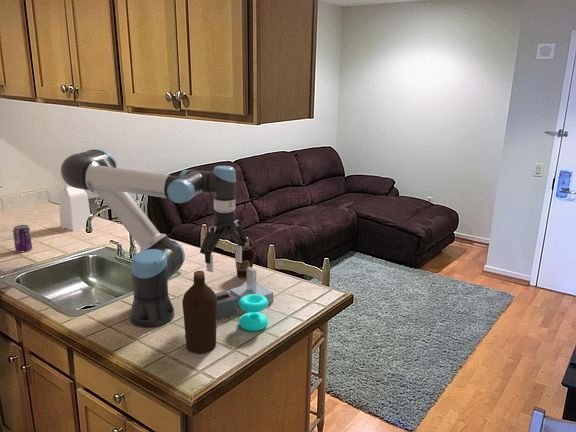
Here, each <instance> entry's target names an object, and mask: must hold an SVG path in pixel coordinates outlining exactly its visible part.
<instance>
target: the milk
mask: <svg viewBox="0 0 576 432" xmlns="http://www.w3.org/2000/svg"><path fill="white" fill-rule="evenodd" d="M58 203H59V205H58V206H59V220H60V221H59V222H60V224H59V225H60V228H61V227H64V228H67V229H70V230H73V231H72V232H75V231H74V230H77V229H80V230H82V229H81V228H84V229H86V228H85V225H86V221H87V219H88V217H89V215H91V209H90V208H91V207H90V203H89V197H88V193H87V192H86V190H85V189H78V188H74V187H72V186H70V185H68V184H67V183H66V182H65V185H64V187H63V189H62V190H61V191H60V193H59V195H58ZM67 229H66V230H67ZM70 230H69V231H70ZM77 231H78V230H77Z"/></svg>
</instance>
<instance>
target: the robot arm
mask: <svg viewBox="0 0 576 432" xmlns="http://www.w3.org/2000/svg"><path fill="white" fill-rule="evenodd" d="M60 175H61V179H63V181H64V182H65V184H66V183H67V184H68V185H70V186H72V187H74V188H78V189H83V190H84V191H90V192H91V193H92V194H95V195H99V197H100V198H101V199H102V200H103V202H104V203H105V204H106V205H107V206H108V207H109V209H110V210H111V211H112V213H113V214H114V215H115V217H116V218H117V219H118V220H119V222H120V223H121V225H122V226H124V228H125V229H126V231H127V232H128V234H129V235H130V236H131V237H132V238H133V240H134V241H135V242H136V244H137V245H138V246H139V248H140V250H139V252H137V253H136V254H135V255H133V257H132V258H131V266H130V267H131V268H130V269H131V270H130V271H131V278H132V279H131V280H132V292H133V294H132V295H133V300H132V305H131V308H130V310H129V322H130V323H132V324H133V325H134V326H137V327H141V328H154V327H160V326H163V325H166V324H167V323H170V322H171V321H172V320H174V317H175V307H174V306H173V303H172V301H171V299H170V295H169V284H168V281H169V279H171V277H172V276H173V275H174V274H175V273H177V272H178V271H180V269H181V268H182V266H183V265H184V264H185V263H184V261H185V259H186V253H185V249H184V247H183V245H182V244H180V243H179V242H178V241H176V240H172V239H170V237H169V236H168V235H167V234H166V233H160V231H159V230H158V229H157V227H156V226H155V225H154V224H153V222H152V221H151V220H150V218H149V217H148V215H147V214H146V213H145V212H144V210H142V208H141V207H140V205H138V203H137V202H136V200H135V199H134V198H133V197H132V194H135V195H143V196H150V197H156V198H157V197H158V198H164V199H170V200H171V201H172V202H173V203H176V204H183V203H187V202H189V201H190V200H192V198H194V197H196V196H197V195H199V194H201V193H203V194H204V193H205V194H213V209H214V211H213V220H214V226H211V225H208V226H207V227H206V229H207V230H206V234H205V236H204V240H203V242H202V245H201V247H200V251H199V253H200V254H203V255H204V262H205V264H206V271H207V272H208V273H209V272H210V273H214V254H213V252H214V250H215V248H216V246H217V245H218V243H219V241H220V240H221V239H222V238H223V237H226V236H230V237H231V238H232V239H233V240H234V241H235V243H236V244H235V250H236V254H235V253H234V257H235V261H234V262H235V263H236V262H239V263H242V253H243V246H245V245H246V244H247V243H248V239H247V236H246V234H245V231H244V229H243V226H242V221H241V220H240V219H236V189H237V188H236V185H237V179H236V177H237V176H236V169H235V167H233V166H231V165H217V166H215V167H214V168H213V171H208V170H207V171H205V170H194V169H184V170H182V171H181V172H180V173H179V175H178V176H176V175H170V174H164V173H155V172H149V171H141V170H134V169H126V168H119V167H117V161H116V159H115V157H114V156H113V155H112V154H111V153H110V152H108V151H106V150H104V149H89V150H86V151H82V152H79V153H75V154H71V155H69V156H68V157H66V158H65V159H64V160H63V162H62V163H61V166H60ZM234 228H235V229H234ZM235 230H236V231H235Z"/></svg>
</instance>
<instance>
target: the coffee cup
mask: <svg viewBox="0 0 576 432" xmlns="http://www.w3.org/2000/svg"><path fill="white" fill-rule="evenodd" d="M235 254H236V249H235V250H234V255H235ZM254 256H255V249H254V247H253V246H252V245H247V244H245V246H243V253H242V263H239V262H236V261H235V269H236V276H237V277H238V278H240V279H247V268H248V267H251V268H253V266H254Z"/></svg>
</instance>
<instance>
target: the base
mask: <svg viewBox="0 0 576 432" xmlns="http://www.w3.org/2000/svg"><path fill="white" fill-rule="evenodd" d="M229 293H230V294H232V295H233V296H235V297H236V298H237V299H238V305H239V300H240V299H241V298H242V297H243V296H245V295H249V294H259V295H262V296H264V297H266V298H267V300H268V305H270V304H272V303H274V292H273V291H272V290H270V289H268V288H266V287H264V285H261V284H259V283H258V282H256V293H251V292H250V291H248V290H247V284H244V285H241V286H238V287H233V288H230V289H229Z"/></svg>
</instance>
